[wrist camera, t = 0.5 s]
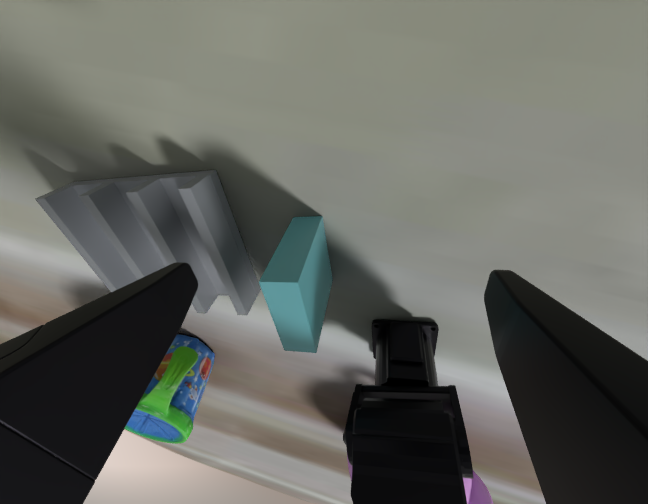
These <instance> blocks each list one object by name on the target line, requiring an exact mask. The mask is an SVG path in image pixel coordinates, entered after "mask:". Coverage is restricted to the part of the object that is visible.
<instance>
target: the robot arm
mask: <svg viewBox="0 0 648 504" xmlns="http://www.w3.org/2000/svg"><path fill="white" fill-rule="evenodd" d="M197 289H198V280H197V278H196V276H195V274H194V272H193V270H192V268H191V266H190V265H189V264H188V263H186V262H175V263H172V264H170V265H168V266H166V267H164V268H162V269H160V270H158V271H155V272H153V273H151V274H149V275H147V276H145V277H143V278H141V279H138V280H136V281H134V282H132V283H130V284H128V285H126V286H124V287H122V288H119V289H117V290H115V291H113V292H111V293H109V294H107V295H105V296H102V297H100V298H98V299H96V300H94V301H92V302H90V303H88V304H86V305H83V306H81V307H79V308H77V309H75V310H73V311H71V312H69V313H66V314H64V315H62V316H60V317H58V318H56V319H54V320H52V321H50V322H47V323H46V324H45V325H41V326H39V327H37V328H35V329H33V330H30V331H28V332H26V333H24V334H22V335H20V336H17V337H15V338H13V339H11V340H9V341H7V342H4V343H2V344H0V504H83V502H84V500H85V499H86V497H87V495H88V493H89V492H90V490H91V488H92V486H93V485H94V483H95V480H96V479H97V477H98V475H99V473H100V471H101V470H102V468H103V466H104V464H105V462H106V461H107V459H108V457H109V455H110V453H111V452H112V450H113V448H114V446H115V445H116V443H117V441H118V439H119V437H120V436H121V434H122V431H123V430H124V428H125V427H126V425H127V423H128V421H129V419H130V418H131V416H132V414H133V412H134V411H135V409H136V407H137V405H138V403H139V402H140V400H141V398H142V396H143V394H144V393H145V391H146V389H147V387H148V385H149V384H150V382H151V380H152V378H153V376H154V375H155V373H156V371H157V369H158V368H159V366H160V364H161V362H162V360H163V359H164V357H165V355H166V353H167V351H168V350H169V348H170V346H171V344H172V342H173V341H174V339H175V337H176V335H177V333H178V332H179V330H180V328H181V325H182V323H183V321H184V319H185V317H186V314H187V312H188V310H189V307H190V305H191V303H192V301H193V298H194V296H195V294H196V292H197ZM484 302H485V307H486V312H487V316H488V321H489V326H490V331H491V336H492V340H493V345H494V350H495V354H496V357H497V361H498V364H499V367H500V370H501V373H502V375H503V378H504V381H505V384H506V387H507V390H508V393H509V396H510V399H511V402H512V405H513V408H514V411H515V413H516V416H517V419H518V422H519V425H520V428H521V431H522V434H523V437H524V440H525V443H526V446H527V449H528V451H529V454H530V457H531V460H532V463H533V466H534V469H535V472H536V475H537V478H538V481H539V484H540V487H541V489H542V492H543V495H544V498H545V501H546V504H648V361H647V360H646V359H644V358H642V357H641V356H639V355H638V354H636V353H635V352H633V351H632V350H630V349H629V348H627V347H626V346H624V345H623V344H621V343H620V342H618V341H617V340H615V339H614V338H612V337H611V336H609V335H608V334H606V333H605V332H603V331H602V330H600V329H599V328H597V327H596V326H594V325H593V324H591V323H590V322H588V321H587V320H585V319H584V318H582V317H581V316H579V315H578V314H576V313H575V312H573V311H572V310H570V309H569V308H567V307H566V306H564V305H562V304H561V303H559V302H558V301H556V300H555V299H553V298H552V297H550V296H549V295H547V294H546V293H544V292H543V291H541V290H540V289H538V288H537V287H535V286H534V285H532V284H531V283H529V282H528V281H526V280H525V279H523V278H522V277H520V276H519V275H517V274H516V273H514V272H513V271H510V270H493V271H492V272H491V273H490V276H489V280H488V283H487V287H486V290H485V294H484ZM438 330H439V329H438V325H437V324H436V323H431V322H409V321H388V320H374V321H372V339H373V355H374V358H375V359H376V369H375V385H362V384H356V387H355V392H353V396H352V401H351V405H350V410H349V414H348V419H347V423H346V428H345V431H344V433H343V441H344V443H345V444H346V445H347V455H348V460H349V463H350V464H351V465H352V483H351V497H352V501H353V504H467V500H466V494H465V488H464V482H463V478H470V479H473V469H472V462H471V456H470V450H469V445H468V440H467V435H466V430H465V426H464V421H463V417H462V413H461V408H460V404H459V400H458V395H457V391H456V387H455V385H448V386H438V381H437V374H436V368H435V361H434V355H435V349H436V343H437V336H438Z"/></svg>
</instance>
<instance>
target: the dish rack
mask: <svg viewBox="0 0 648 504" xmlns="http://www.w3.org/2000/svg"><path fill="white" fill-rule="evenodd" d="M35 200H36V201H37V202H38V203H39V204H40V206H41V207H42V208H43V209H44V211H45V212H46V213H47V214H48V216H49V217H50V218H51V219H52V220H53V222H54V223H55V224H56V225H57V227H58V228H59V229H60V230H61V231H62V233H63V234H64V235H65V236H66V238H67V239H68V240H69V241H70V243H71V244H72V245H73V246H74V247H75V249H76V250H77V251H78V252H79V254H80V255H81V256H82V257H83V258H84V260H85V261H86V262H87V263H88V265H89V266H90V267H91V268H92V270H93V271H94V272H95V273H96V274H97V276H98V277H99V278H100V279H101V281H102V282H103V283H104V284H105V285H106V287H107V288H108V289H109V290H110V292H113V291H115V290H117V289H119V288H122V287H124V286H126V285H128V284H130V283H132V282H134V281H136V280H138V279H141V278H143V277H145V276H147V275H149V274H151V273H153V272H155V271H158V270H160V269H162V268H164V267H166V266H168V265H170V264H172V263H175V262H186V263H188V264H189V265H190V266H191V268H192V270H193V272H194V274H195V276H196V278H197V280H198V289H197V292H196V294H195V296H194V298H193V301H192V304H193V306H194V308H195V309H196V311H197V313H207V311H208V310H209V308H210V307H211V305H212V304H213V302H214V301H215V299H216V298H217V296H218V295H228V296H229V297H230V299H231V301H232V303H233V305H234V308H235V310H236V312H237V314H238V315H248V313H249V311H250V309H251V307H252V305H253V303H254V301H255V299H256V297H257V296H258V294H259V292H260V290H261V289H260V286H259V284H258V281H257V278H256V276H255V273H254V270H253V268H252V265H251V262H250V260H249V257H248V254H247V252H246V249H245V246H244V244H243V241H242V238H241V236H240V233H239V230H238V228H237V225H236V222H235V220H234V217H233V214H232V212H231V209H230V206H229V204H228V201H227V198H226V196H225V193H224V190H223V188H222V185H221V182H220V180H219V177H218V174H217V172H216V170H208V171H196V172H185V173H173V174H161V175H149V176H137V177H125V178H114V179H102V180H90V181H78V182H72V183H70V184H67V185H65V186H63V187H61V188H59V189H56V190H54V191H52V192H50V193H47V194H45V195H43V196H41V197H38V198H36V199H35Z"/></svg>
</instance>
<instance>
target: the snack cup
mask: <svg viewBox="0 0 648 504" xmlns="http://www.w3.org/2000/svg"><path fill="white" fill-rule="evenodd" d="M214 357H215V356H214V352H212V351H211V350H210V349H209V348H208V347H207V346H206V345H205V344H204V343H202V342H201V341H199V339H197V338H193V337H189V336H186V335H176V337H175V339H174V341H173V342H172V344H171V346H170V348H169V350H168V351H167V353H166V355H165V357H164V359H163V360H162V362H161V364H160V366H159V368H158V369H157V371H156V373H155V375H154V376H153V378H152V380H151V382H150V384H149V385H148V387H147V389H146V391H145V393H144V394H143V396H142V398H141V400H140V402H139V403H138V405H137V407H136V409H135V411H134V412H133V414H132V416H131V418H130V419H129V421H128V423H127V425H126V427H125V428H124V429H126V430H128V431H130V432H133V433H135V434H138V435H140V436H143V437H146V438H150V439H153V440H156V441H161V442H166V443H183V442H185V441H186V440H187V439H188V437H189V435H190V433H191V431H192V429H193V420H194V416H195V413H196V411H197V408H198V406H199V403H200V400H201V398H202V395H203V392H204V389H205V387H206V383H207V381H208V378H209V375H210V373H211V370H212V366H213V364H214Z"/></svg>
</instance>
